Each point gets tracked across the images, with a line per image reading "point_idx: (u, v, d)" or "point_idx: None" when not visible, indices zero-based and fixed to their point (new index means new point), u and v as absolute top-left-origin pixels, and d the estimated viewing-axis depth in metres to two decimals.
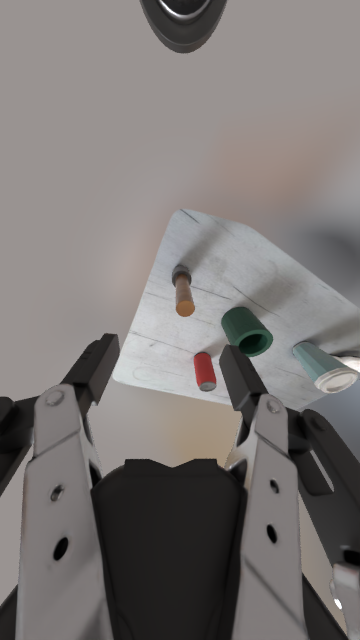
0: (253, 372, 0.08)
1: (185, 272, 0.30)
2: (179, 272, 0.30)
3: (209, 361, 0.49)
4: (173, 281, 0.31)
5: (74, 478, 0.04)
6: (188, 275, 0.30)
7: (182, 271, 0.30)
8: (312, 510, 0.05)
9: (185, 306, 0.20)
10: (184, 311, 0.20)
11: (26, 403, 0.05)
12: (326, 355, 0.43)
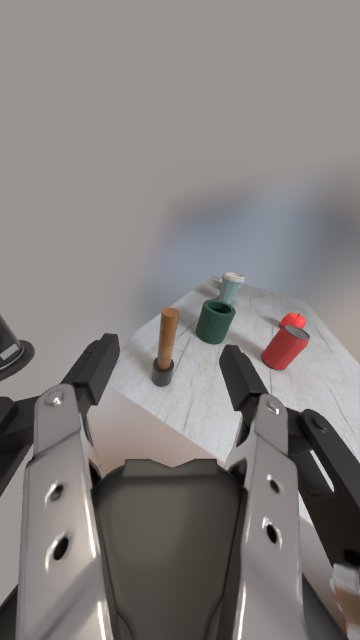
0: (253, 372, 0.08)
1: (155, 360, 0.29)
2: (154, 365, 0.28)
3: (267, 347, 0.40)
4: (163, 371, 0.27)
5: (74, 478, 0.04)
6: None
7: (154, 362, 0.29)
8: (312, 510, 0.05)
9: (167, 311, 0.21)
10: (173, 312, 0.21)
11: (27, 403, 0.06)
12: (221, 287, 0.67)
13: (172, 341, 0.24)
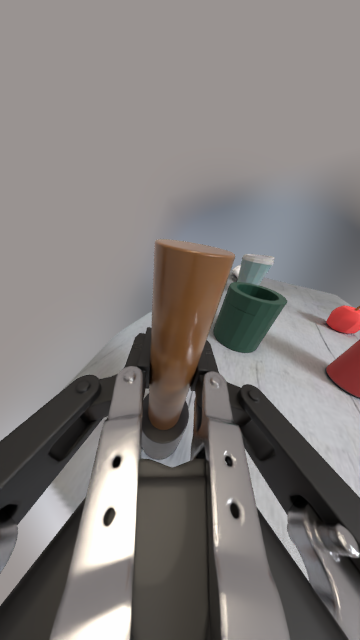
0: (210, 355, 0.09)
1: (146, 400, 0.12)
2: (142, 416, 0.11)
3: (341, 358, 0.23)
4: (165, 438, 0.10)
5: (129, 458, 0.04)
6: None
7: None
8: (264, 472, 0.06)
9: (183, 244, 0.05)
10: (208, 249, 0.05)
11: (104, 382, 0.07)
12: (239, 274, 0.51)
13: (194, 367, 0.07)
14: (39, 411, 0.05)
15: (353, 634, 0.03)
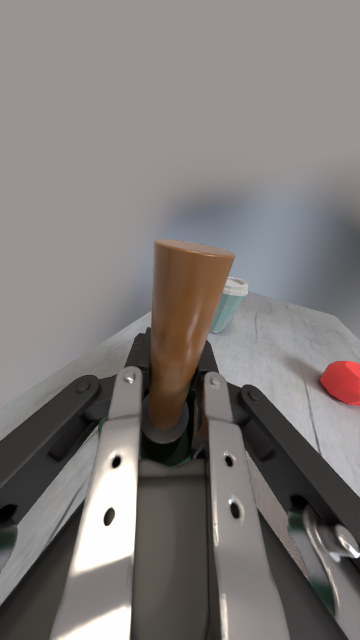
0: (210, 355, 0.09)
1: (146, 400, 0.12)
2: (142, 416, 0.11)
3: None
4: (165, 438, 0.10)
5: (129, 458, 0.04)
6: None
7: (142, 407, 0.12)
8: (264, 473, 0.06)
9: (183, 244, 0.05)
10: (207, 249, 0.05)
11: (104, 382, 0.07)
12: None
13: (194, 367, 0.07)
14: (39, 411, 0.05)
15: (353, 635, 0.03)
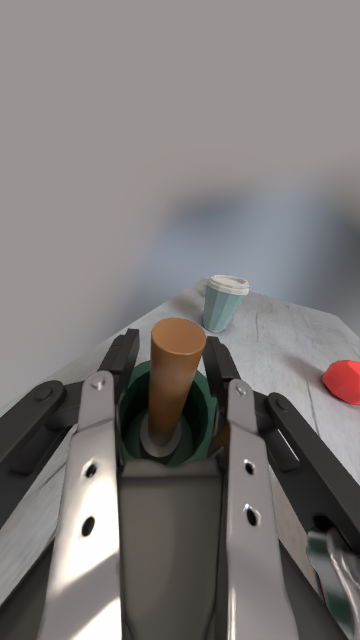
0: (230, 361, 0.09)
1: (146, 418, 0.15)
2: (143, 433, 0.13)
3: None
4: (161, 453, 0.13)
5: (105, 463, 0.04)
6: None
7: (142, 425, 0.14)
8: (285, 486, 0.06)
9: (171, 331, 0.07)
10: (188, 335, 0.07)
11: (72, 387, 0.06)
12: (205, 302, 0.37)
13: (182, 404, 0.09)
14: None
15: None
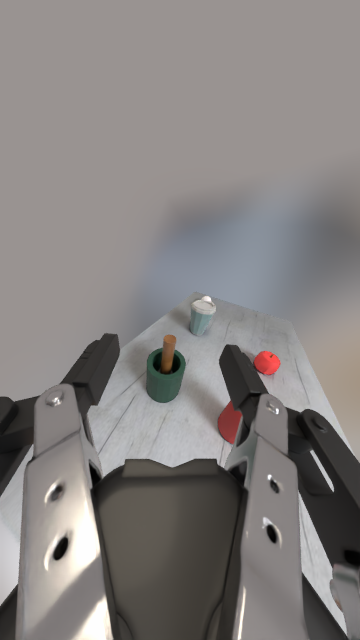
0: (253, 372, 0.08)
1: (159, 370, 0.38)
2: None
3: (223, 411, 0.33)
4: None
5: (74, 478, 0.04)
6: None
7: None
8: (312, 510, 0.05)
9: (168, 338, 0.30)
10: (172, 339, 0.30)
11: (26, 403, 0.05)
12: (191, 316, 0.60)
13: (171, 358, 0.32)
14: None
15: None
